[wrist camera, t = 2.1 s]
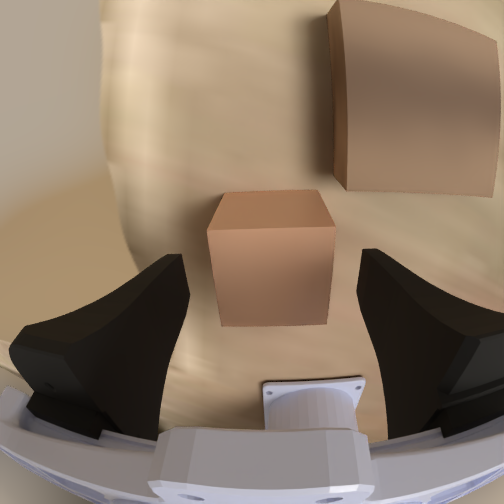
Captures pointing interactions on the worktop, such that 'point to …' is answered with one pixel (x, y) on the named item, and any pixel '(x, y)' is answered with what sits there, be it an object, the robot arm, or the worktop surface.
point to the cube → (272, 258)
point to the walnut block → (412, 102)
